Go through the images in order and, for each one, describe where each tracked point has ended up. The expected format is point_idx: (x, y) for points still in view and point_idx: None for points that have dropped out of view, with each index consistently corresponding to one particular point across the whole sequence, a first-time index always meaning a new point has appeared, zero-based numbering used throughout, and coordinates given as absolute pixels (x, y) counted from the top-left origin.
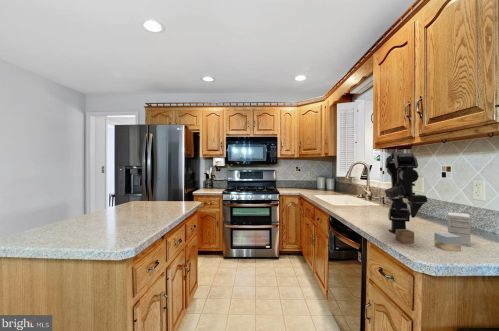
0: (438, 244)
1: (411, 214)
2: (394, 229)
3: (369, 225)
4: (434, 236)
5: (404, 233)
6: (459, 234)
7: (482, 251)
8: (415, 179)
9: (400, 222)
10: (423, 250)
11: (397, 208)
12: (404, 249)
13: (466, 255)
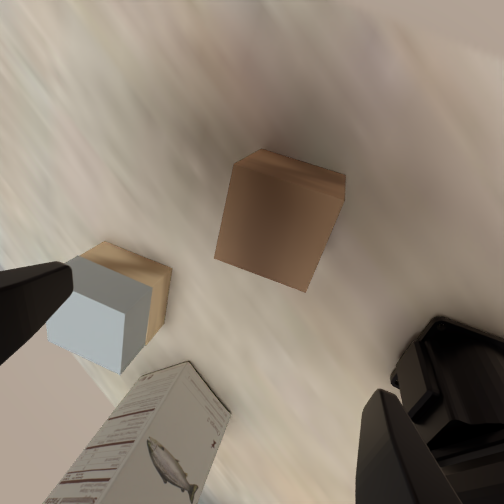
0: (137, 267)
1: (10, 277)
2: (479, 352)
3: None
4: (139, 298)
5: (234, 172)
6: (133, 409)
7: None
8: None
9: (444, 417)
10: (125, 138)
11: (391, 496)
12: (159, 18)
13: (56, 255)
